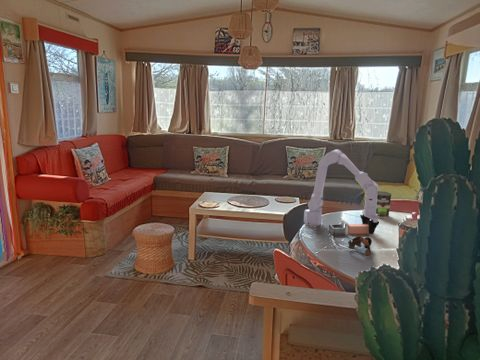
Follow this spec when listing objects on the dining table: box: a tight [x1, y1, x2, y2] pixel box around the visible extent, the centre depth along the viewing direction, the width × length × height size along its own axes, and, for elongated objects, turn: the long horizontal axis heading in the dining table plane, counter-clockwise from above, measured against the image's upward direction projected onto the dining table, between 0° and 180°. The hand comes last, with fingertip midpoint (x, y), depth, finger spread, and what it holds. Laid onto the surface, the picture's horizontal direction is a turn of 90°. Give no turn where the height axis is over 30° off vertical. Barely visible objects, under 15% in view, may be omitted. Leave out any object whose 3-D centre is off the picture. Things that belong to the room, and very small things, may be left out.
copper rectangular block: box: [348, 223, 370, 235], centre depth 185 cm, size 12×4×4 cm, turn 93°
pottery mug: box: [347, 236, 373, 257], centre depth 164 cm, size 12×10×8 cm
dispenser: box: [327, 218, 371, 237], centre depth 184 cm, size 19×10×7 cm, turn 93°
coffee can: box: [376, 190, 392, 219], centre depth 216 cm, size 10×10×14 cm
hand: (368, 231), depth 185 cm, fingers open, 7 cm apart
